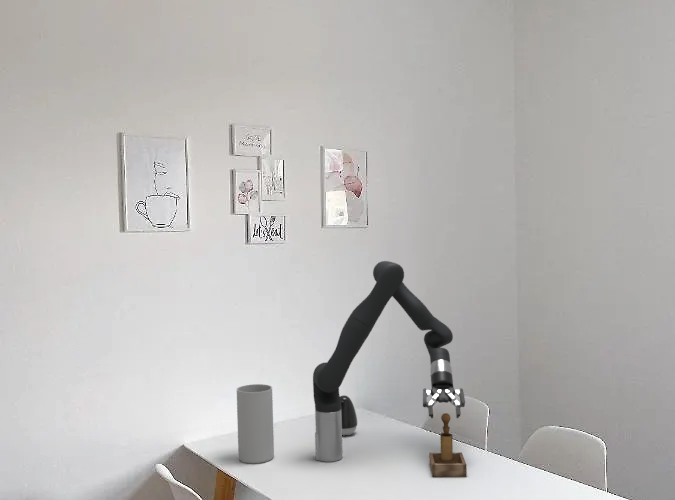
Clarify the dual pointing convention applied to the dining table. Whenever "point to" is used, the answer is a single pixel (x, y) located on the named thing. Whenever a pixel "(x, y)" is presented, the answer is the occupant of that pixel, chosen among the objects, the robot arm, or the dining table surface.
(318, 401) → the robot arm
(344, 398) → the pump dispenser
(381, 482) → the dining table surface
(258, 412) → the cylinder vase
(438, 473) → the box
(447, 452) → the brown wooden chess piece
